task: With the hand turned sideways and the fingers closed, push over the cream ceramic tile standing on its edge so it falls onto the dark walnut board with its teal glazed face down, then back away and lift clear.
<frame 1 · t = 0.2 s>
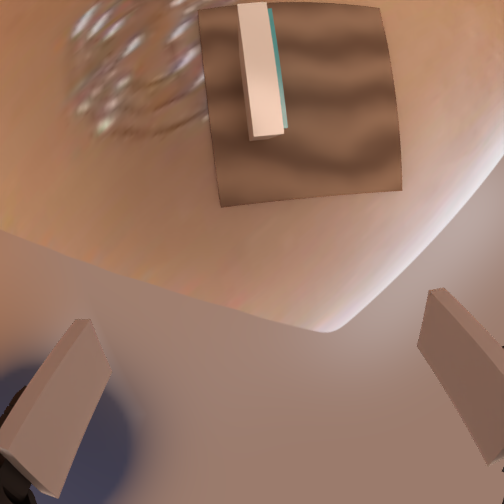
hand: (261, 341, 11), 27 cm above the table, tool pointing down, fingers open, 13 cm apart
board: (304, 94, 32), on the table
tile: (253, 96, 31), point 1 cm above the table, touching board
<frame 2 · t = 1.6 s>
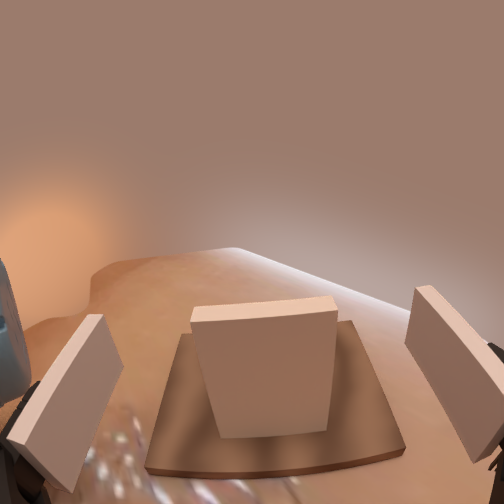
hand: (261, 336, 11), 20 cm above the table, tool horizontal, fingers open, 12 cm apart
board: (271, 394, 33), on the table
tile: (273, 428, 27), point 1 cm above the table, touching board
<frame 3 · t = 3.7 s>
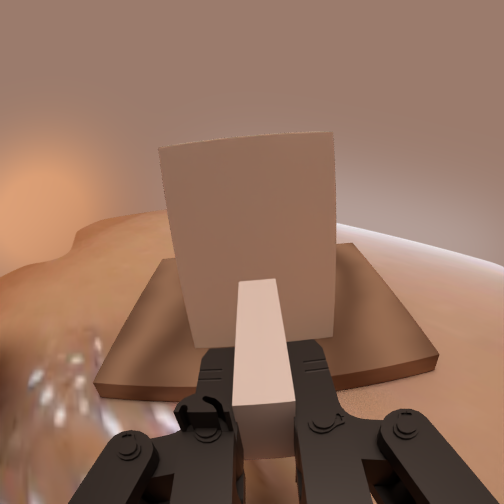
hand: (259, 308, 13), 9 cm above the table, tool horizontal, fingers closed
board: (261, 309, 29), on the table
tile: (263, 335, 23), point 1 cm above the table, touching board
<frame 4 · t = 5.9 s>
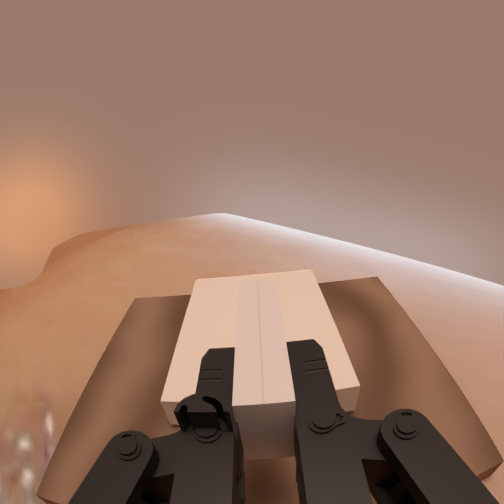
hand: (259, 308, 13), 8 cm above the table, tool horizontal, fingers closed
board: (261, 385, 20), on the table
tile: (261, 411, 14), point 3 cm above the table, tilted 90°, touching board
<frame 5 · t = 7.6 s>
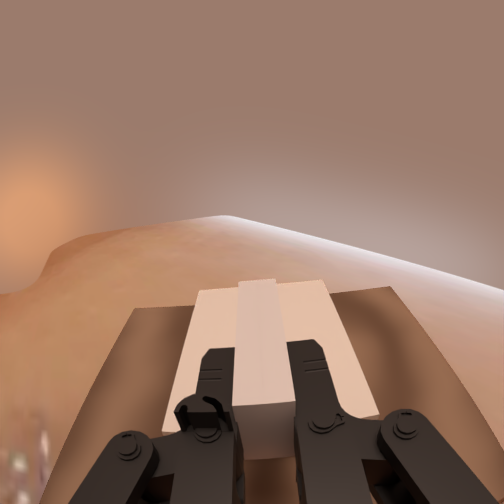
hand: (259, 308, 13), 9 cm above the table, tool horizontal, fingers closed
board: (270, 407, 18), on the table
tile: (271, 441, 13), point 3 cm above the table, tilted 90°, touching board
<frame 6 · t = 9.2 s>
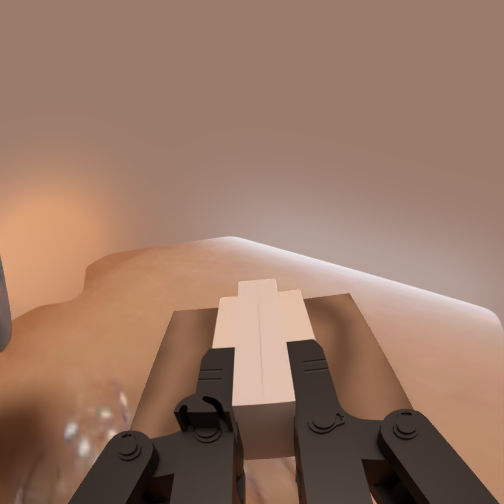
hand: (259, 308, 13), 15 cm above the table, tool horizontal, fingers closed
board: (266, 366, 32), on the table
tile: (265, 376, 26), point 3 cm above the table, tilted 90°, touching board
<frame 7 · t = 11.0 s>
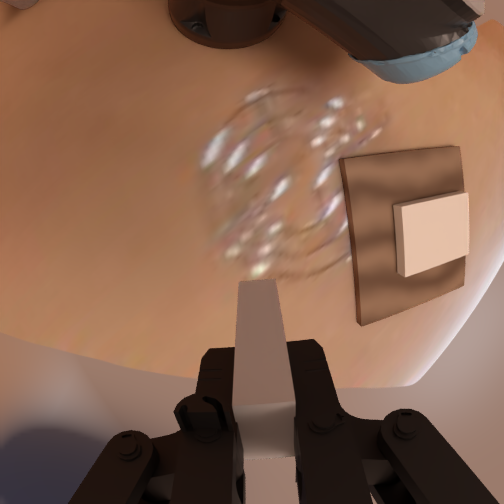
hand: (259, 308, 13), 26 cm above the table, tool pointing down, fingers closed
house plant: (31, 1, 25), on the table
board: (413, 230, 43), on the table
tile: (399, 241, 40), point 3 cm above the table, tilted 90°, touching board
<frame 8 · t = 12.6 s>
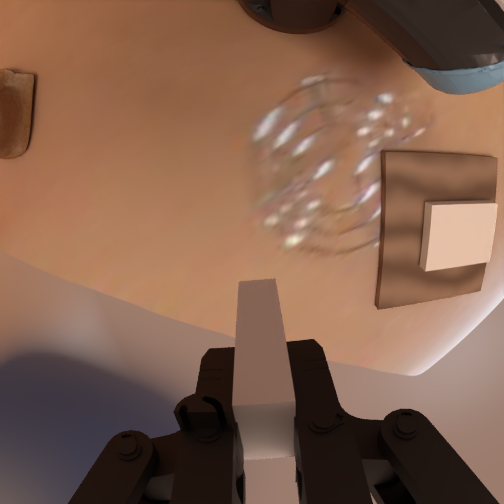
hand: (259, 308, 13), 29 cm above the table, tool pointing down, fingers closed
tan ankle boot: (20, 111, 35), on the table
board: (440, 229, 43), on the table
tile: (425, 237, 40), point 3 cm above the table, tilted 90°, touching board
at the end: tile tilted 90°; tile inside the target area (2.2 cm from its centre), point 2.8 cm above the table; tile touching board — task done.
